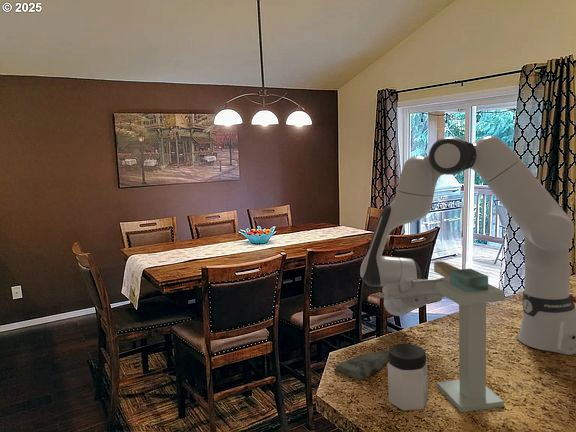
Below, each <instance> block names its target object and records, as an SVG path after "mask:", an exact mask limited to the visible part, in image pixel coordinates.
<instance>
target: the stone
mask: <svg viewBox="0 0 576 432" xmlns="http://www.w3.org/2000/svg"><path fill="white" fill-rule="evenodd" d="M388 361H389V350H379V351H375V352H372V353H368V354H367V353H366V354H361V355H359V356H356V357H353V358H350V359H347V360H346V361H341V362H339V363H338V364H336V365H335V366H334V369H335V370H336V371H338V372H340V373H342V374H343V375H346V376H348V377H351V378H353V379H355V380H364V379H366V378H369V376H370V375H371V373H374V372H377V371H380V370H382V368H383V366H385V364H386V365H387V363H388Z"/></svg>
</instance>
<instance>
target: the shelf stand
mask: <svg viewBox="0 0 576 432" xmlns="http://www.w3.org/2000/svg"><path fill="white" fill-rule="evenodd" d="M436 291H438V292H439V293H441V294H443V295H444V296H446V297H445V298H448V299H449V300H451V301H452V302H454V303H456V304H458V332H459V334H458V338H459V339H458V341H459V342H458V346H459V347H458V348H459V349H458V351H459V353H458V355H459V357H458V358H459V359H458V360H459V366H458V367H459V369H458V370H459V377H458V378H459V379H453V380H452V379H451V380H445V381H437V382H436V388H438V390H439V391H440V392H441V393H442V394H443V395H444V397H446V398H447V399H448V400H449V402H451V404H454V405H455V406H456V407H457V408H456V407H455V406H454V405H453V406H454V407H455V408H456V409H457V410H458V411H459V412H460V413H467V412H466V411H468V412H473V411H480V410H488V409H495V408H502V407H504V406H505V401H504V400H503V399H502V398H500V397H499V396H498V394H496V393H495V392H494V391H493V390H492V389H490V388H489V387H488V386H487V378H486V377H487V341H486V340H487V303H495V302H505V299H506V297H505V294H506V293H505V292H506V291H504V290H503V289H500V288H498V287H496V286H494V285H491V284H489V283H488V290H483V291H473V292H465V291H463V290H461V289H460V288H458V287H456V286H454V285H452V284H450V281H441V282H436Z"/></svg>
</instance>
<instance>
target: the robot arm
mask: <svg viewBox="0 0 576 432" xmlns="http://www.w3.org/2000/svg"><path fill="white" fill-rule="evenodd" d="M468 169H469V170H473V171H474V172H475V173H476V174H477V175H479V177H480V178H481V179H482V180H483V182H484V183H485V185H487V187H488V188H489V189H490V191H491V192H492V194H493V195H494V196H495V197H496V198H497V200H499V201H500V203H501V204H502V206H503V207H504V208H505V210H506V211H507V213H508V214H509V215H510V217H512V219H513V220H514V222H516V224H517V226H518V227H519V229H521V231H522V233H524V235H523V236H524V238H523V239H524V290H523V291H522V309H523V310H522V311H523V312H522V321H521V324H520V329H519V330H518V331H519V332H518V335H517V340H518V341H519V342H520V343H521V344H523V345H525V346H528V347H531V348H533V349H536V350H540V351H546V352H554V353H558V354H562V355H567V356H572V355H575V354H576V305H575V303H576V295H574V296H573V295H572V294H570V289H571V288H570V286H571V264H570V262H571V261H570V250H569V249H570V248H569V244H570V243H571V242H572V240H573V237H574V234H575V225H574V222H573V221H572V218H571V217H570V216H569V215H568V214H567V212H566V211H564V209H563V208H562V207H561V205H560V204H559V203H558V202H557V201H556V200H555V199H554V197H553V196H552V195H551V194H550V192H549V191H547V189H546V188H545V187H544V186H543V184H542V183H541V182H540V181H539V179H538V178H537V177H536V176H535V175H534V174H533V172H532V171H531V170H530V169H529V167H527V165H526V164H525V163H524V161H523V159H521V158H520V157H519V156H518V154H517V153H516V152H515V151H514V150H513V149H512V148H511V147H510V146H509V145H508V144H507V143H505V142H504V141H503V140H502V139H500V138H499V137H497V136H495V135H488V136H484V137H482V138H479V139H478V140H477V141H474V142H469V141H466V140H464V139H462V138H461V137H458V136H452V135H451V136H444V137H441V138H439V139H438V140H435V142H434V143H433V144H432V146H431V147H430V150H429V152H428V155H426V156H422V155H421V156H420V155H419V156H418V155H416V156H412V157H409V158H408V159H406V161H405V162H404V164H403V167H402V171H401V172H400V175H399V178H398V184H397V189H396V194H395V195H394V196H395V197H394V198H393V200H392V201H391V203H390V204H389V205H386V206H384V207H383V209H382V210H381V213H380V215H379V218H378V220H377V223H376V226H375V228H374V231H373V233H372V237H371V240H370V243H369V245H368V249H367V251H366V254H365V256H364V257H363V260H362V263H361V265H360V268H359V270H360V271H359V274H360V279H361V280H362V281H363V283H365V284H366V285H367V286H369V287H382V292H380V293H379V294H378V297H379V298H381V299H384V300H383V307H384V308H385V310H386V311H387V312H388V313H389V314H390V315H392V316H397V317H400V316H405V315H408V314H410V313H411V312H413V311H416V310H417V309H418V308H422V307H424V306H425V305H430V304H434V303H435V304H436V303H438V302H439V303H440V302H442V301H443V298H447V297H446V296H444V295H443V294H441V293H439V292H438V291H436V282H441V281H450V280H449V279H447V278H445V277H444V276H441V277H440V278H439V277H438V278H431V279H429V278H428V279H423V278H422V270H421V268H420V266H419V264H418V263H417V262H416V260H415V259H413V258H407V257H399V256H389V255H388V256H387V255H383V252H384V250H385V247H386V244H387V241H388V238H389V235H390V233H391V232H392V231H393V230H394V229H396V228H398V227H400V226H404V225H406V224H411V223H414V222H418V221H420V220H422V219H423V218H425V217H426V216H427V215H428V214H429V213H430V210H431V208H432V205H433V200H434V198H435V197H434V196H435V190H436V185H437V182H438V181H439V178H440V177H441V176H443V175H457V174H459V173H461V172H463V171H465V170H468Z"/></svg>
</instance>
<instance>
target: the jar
mask: <svg viewBox="0 0 576 432" xmlns="http://www.w3.org/2000/svg"><path fill="white" fill-rule="evenodd" d="M388 351H389V359H388V361H387V393H388V402H389V403H390V404H392V405H394V406H395V407H397V408H398V409H400V410H401V411H417V410H424V409H425V407H426V404H427V401H428V399H429V398H428V393H429V392H428V391H429V390H428V361H427V353H426V350H425V349H424V348H422V347H421V346H419V345H415V344H411V343H399V344H395V345H392V346H391V347H390V348H388Z"/></svg>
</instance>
